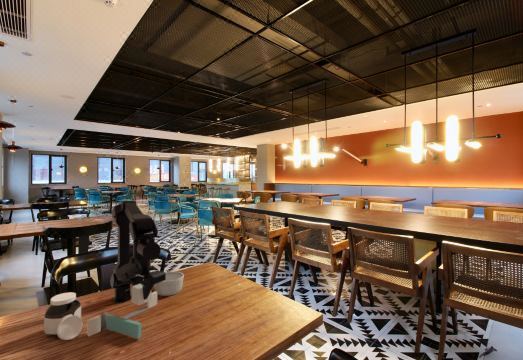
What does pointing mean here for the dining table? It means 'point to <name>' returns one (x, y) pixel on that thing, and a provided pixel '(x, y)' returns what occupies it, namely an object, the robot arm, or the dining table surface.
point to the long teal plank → (123, 326)
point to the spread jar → (63, 317)
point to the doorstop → (139, 295)
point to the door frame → (99, 321)
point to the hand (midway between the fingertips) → (141, 297)
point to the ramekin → (170, 284)
